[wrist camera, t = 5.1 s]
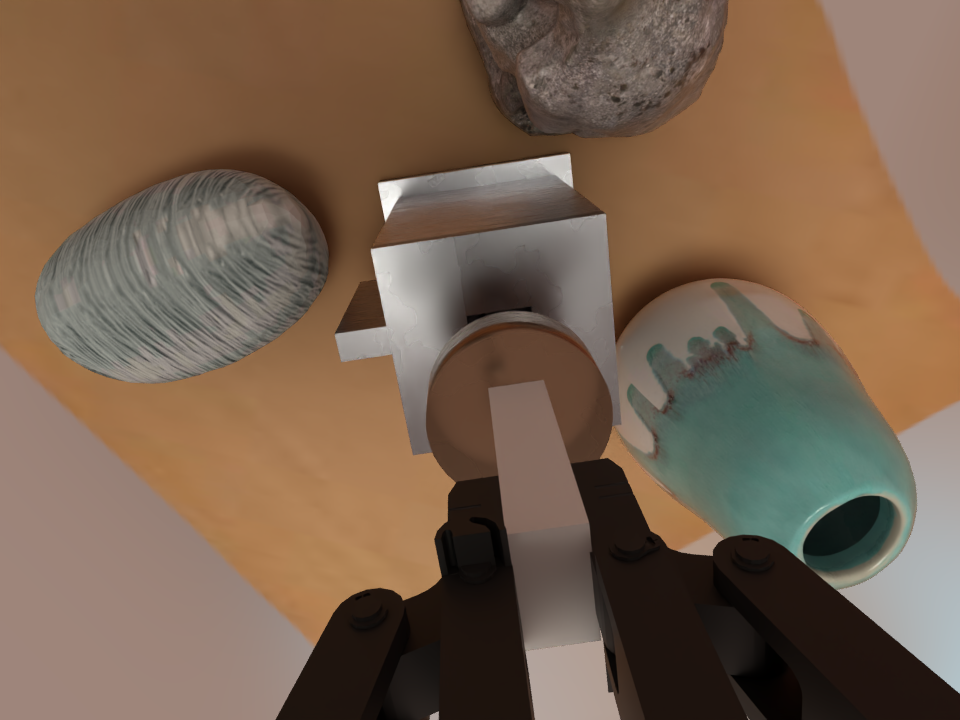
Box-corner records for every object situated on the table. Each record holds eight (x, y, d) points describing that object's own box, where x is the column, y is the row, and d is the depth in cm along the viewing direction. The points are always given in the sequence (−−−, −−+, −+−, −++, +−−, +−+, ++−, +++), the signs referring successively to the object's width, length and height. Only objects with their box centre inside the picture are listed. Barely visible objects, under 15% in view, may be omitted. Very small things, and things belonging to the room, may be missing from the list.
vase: (811, 393, 41) (1054, 594, 25) (637, 472, 43) (754, 712, 26) (749, 224, 37) (990, 328, 21) (560, 318, 39) (641, 485, 22)
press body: (351, 185, 36) (296, 233, 23) (566, 152, 36) (630, 183, 23) (387, 358, 39) (357, 483, 27) (583, 329, 39) (645, 441, 26)
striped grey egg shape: (124, 425, 37) (22, 409, 27) (71, 266, 38) (-46, 195, 28) (362, 339, 39) (348, 294, 29) (306, 190, 40) (274, 100, 30)
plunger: (422, 243, 30) (401, 342, 18) (548, 224, 30) (612, 311, 18) (442, 360, 32) (436, 520, 20) (560, 342, 32) (626, 493, 20)
